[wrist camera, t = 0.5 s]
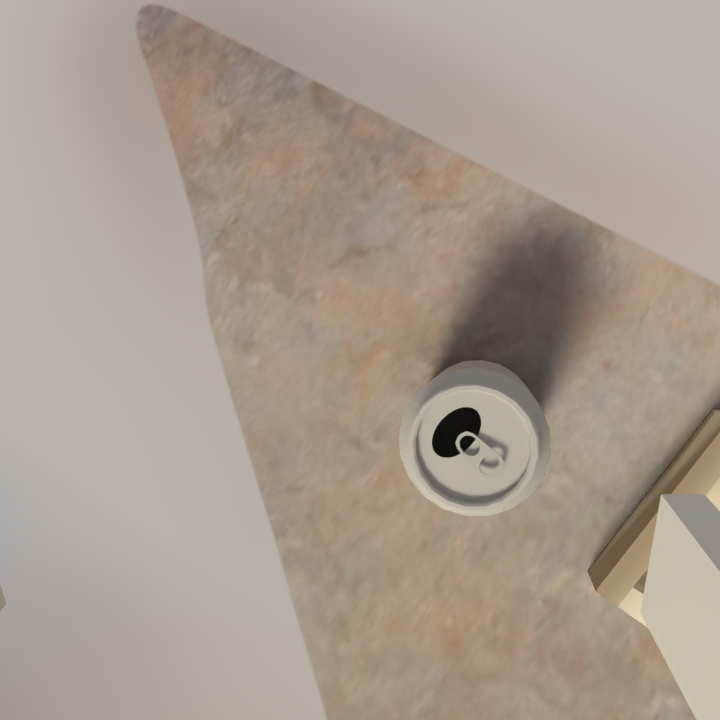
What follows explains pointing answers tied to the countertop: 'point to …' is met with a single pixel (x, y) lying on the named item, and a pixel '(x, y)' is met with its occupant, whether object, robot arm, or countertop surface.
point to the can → (475, 439)
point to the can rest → (634, 540)
